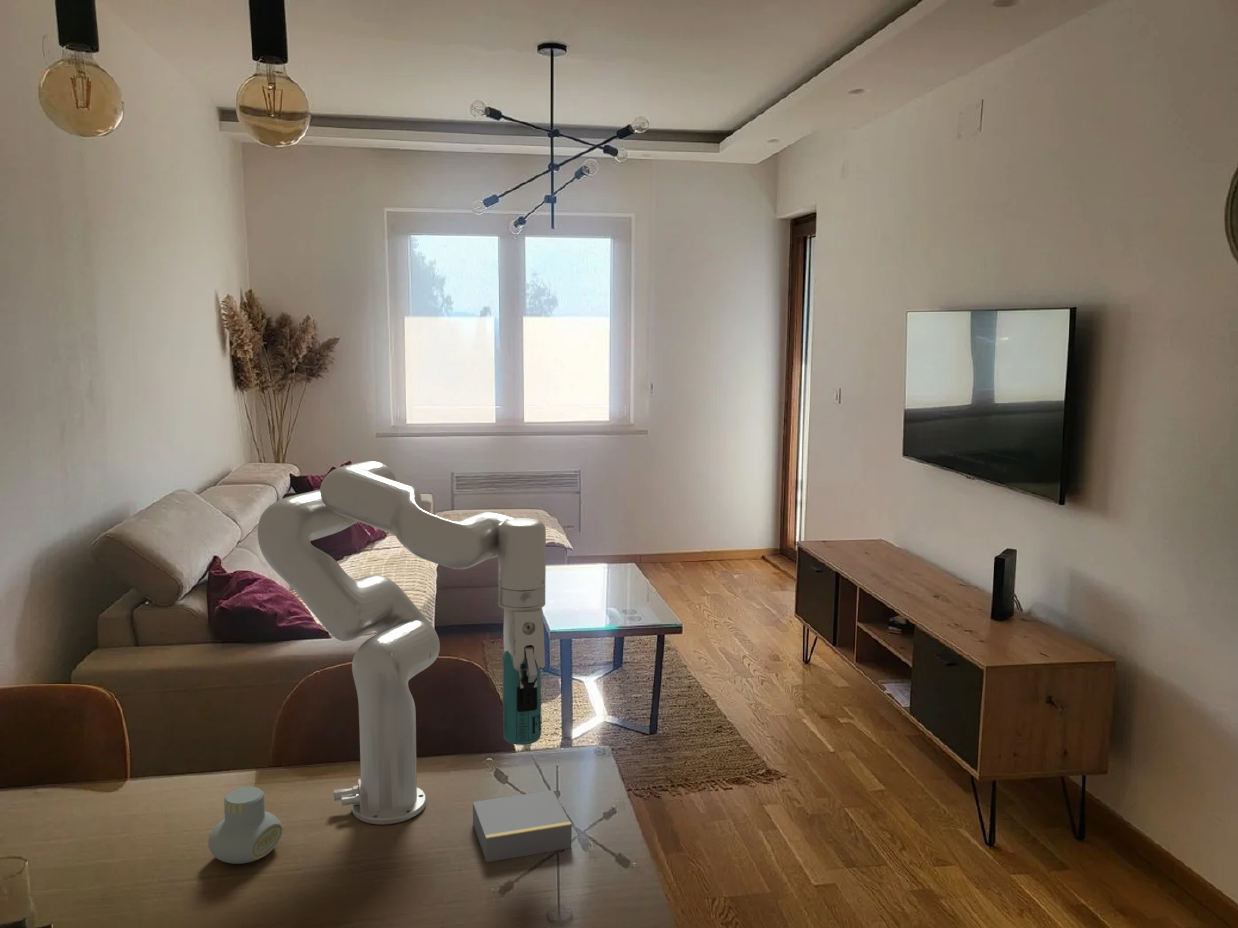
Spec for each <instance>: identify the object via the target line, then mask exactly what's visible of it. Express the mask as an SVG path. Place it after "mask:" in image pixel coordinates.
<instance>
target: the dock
mask: <svg viewBox="0 0 1238 928" xmlns="http://www.w3.org/2000/svg"><path fill="white" fill-rule="evenodd" d="M569 819H570V818H569V817H568V816H567V814H566V812H565V810H564V808H563V806H562V805H561V803H560V801H559V799H558V797H557V796H556V793H555V792H554V790H553V789H551V790H545V791H539V792H531V793H525V794H517V795H512V796H504V797H499V798H498V797H497V798H490V799H484V800H478V801H473V802H472V825H473V828H474V831H475V834H476V836H477V840H478V843H479V844H480V849H481V851H482V854H483V857H484V860H485V862H486V863H492V862H497V861H503V860H509V859H513V858H514V859H515V858H519V857H520V858H521V857H526V856H531V855H537V854H538V855H539V854H543V853H549V852H555V851H561V850H567V849H572V834H573V833H572V829H573V828H572V827H573V826H572V822H571V821H570V820H569Z"/></svg>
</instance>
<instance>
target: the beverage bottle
mask: <svg viewBox="0 0 1238 928" xmlns="http://www.w3.org/2000/svg"><path fill="white" fill-rule="evenodd" d="M527 628H529V627H527ZM535 662H536V660H535ZM535 664H536V663H535ZM521 668H527V666H526V663H524V664H521ZM536 669H537V709H536V710H533V711H525V712H518V711H517V687H519V683H518V671H517V670H515V669H514V668H513V665H512V660H511V657H510V655H509V652H508V651H506V652H504V653H503V654H502V691H501V692H502V704H501V706H502V708H501V709H502V710H501V713H502V720H501V721H502V722H501V723H502V724H501V725H502V727H501V728H502V729H501V730H502V735H503V739H504V740H505V741H506V742H507V743H509V744H512V745H517V746H523V745H525V746H527V745H531V744H534V743H536V742H538V741H539V740H540V739H541V736H542V729H543V726H542V725H543V724H542V723H543V715H542V701H543V699H542V673H541V671H542V669H540V668H538V666H537V665H536ZM522 674H523V679H524V676H525V675H527V672H522Z"/></svg>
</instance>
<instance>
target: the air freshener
mask: <svg viewBox="0 0 1238 928" xmlns="http://www.w3.org/2000/svg"><path fill="white" fill-rule="evenodd" d="M223 801H224V802H223V804H224V805H223V806H224V807H223V808H224V809H223V811H224V818H222V820H220V821H219V822H218V823H217V824H216V825H215V826H214V828H213V829H212V831H211V833H210V834H209V837H208V840H207V841H208V848H209V851H210V853H211V854H212V855H213V856H214V858H216V859H218V860H219V861H221V862H224V863H227V864H232V865H234V864H237V865H241V864H248V863H252V862H255V861H258V860H260V859H262V858H263V857H265V856H267V855H268V854H269V853H271V852H272V851H273V850H274V849H275V847H276V846H277V844H278V843H279V841H280V839H281V837H282V835H283V827H282V823H281V821H280V819H278V817H277V816H275V814H273V813H272V812H269V811H266V810H265V809H266V808H265V807H266V806H265V793H264V791H263V790H262V789H261V788H259V787H255V786H243V787H239V788H237V789H236V788H235V789H234V790H231V791H230V792H229V793H227V794H226V796H224V798H223Z"/></svg>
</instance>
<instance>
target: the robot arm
mask: <svg viewBox="0 0 1238 928" xmlns="http://www.w3.org/2000/svg"><path fill="white" fill-rule="evenodd" d="M356 523H362V524H364V525H367V526H370V527H372V528H375V529H378V530H380V531H383V532H385V533H389V534H392V535H394V536H395V537H396V539H397V540H398V542H399V543H400V544H401V545H403V547H404V548H405V549H406V550H408V552H410V553H412V554H413V555H415V556H416V557H418V558H421V559H423V560H426V561H429V562H431V563H434V564H437V565H439V566H442V567H446V568H448V569H449V568H450V569H453V570H466V569H470V568H473V567H474V566H477V565H479V564H481V563H482V562H485V561H488V560H491V559H494V558H498V559H497V561H498V563H497V564H498V565H497V566H498V567H497V569H498V572H497V574H498V579H497V580H498V585H497V586H498V607H499V608H501V609H503V630H502V631H503V635H502V636H503V650H504V653H505V652H506V651H508V652H509V655H510V657H511V660H512V665H513V668H514V669H515V670H517V671H518V683H519V687H517V711H518V712H525V711H533V710H536V709H537V669H536V665H537V666H538V668H540V669H541V670H543V669H544V668H545V666H546V661H545V660H546V658H545V657H546V655H545V652H546V651H545V636H544V635H545V633H544V629H545V628H544V619H543V612H542V608H544V607H545V606H546V577H547V576H546V571H547V570H546V567H547V566H546V563H547V562H546V557H547V556H546V555H547V553H546V552H547V551H546V549H547V545H546V544H547V541H546V540H547V536H546V535H547V534H546V533H547V532H546V531H547V530H546V526H545V524H544V522H542V521H541V520H539V519H536V518H531V517H530V518H529V517H512V516H507V515H504V514H501V513H496V512H492V511H483V512H480V513H479V512H478V513H476V514H474V515H471V516H468V517H465V518H462V519H459V520H457V521H455V520H454V521H453V520H450V519H447V518H444V517H441V516H438V515H435V514H433V513H430V512H428V511H426V510H424V509H422V496H421V493H420V492H419V490H418V489H417V488H416V487H415V486H412V485H408V484H405V483H402V482H399V481H398V480H397V477H396V475H395V473H394V472H393V471H392V469H391V468H390V467H388V466H387V465H386V464H384V463H382V462H380V461H375V460H368V461H360V462H356V463H352V464H348V465H347V464H346V465H343V466H340V467H337V468H335V469H333V470H331V471H330V472H329V473H327V474H326V476H324V478H323V480H322V482H321V483H320V488H319V489H316V490H312V491H308V492H303V493H300V494H299V493H298V494H294V495H291V496H287V497H284V498H281V499H279V500H277V501H275V502H273V503H272V504H270V505H269V506H268V507H267V508H266V509H264V511H263V512H262V514H261V515H260V518H259V520H258V524H257V541H258V545H259V548H260V551H261V553H262V554H261V555H262V556H263V557H264V559H265V561H266V562H267V563H268V565H269V566H270V568H272V570H273V571H274V572H276V574H278V576H280V578H282V579H283V580H284V581H285V582H286V583H287V584H288V585H289V587H291V589H293V591H294V592H295V593H296V594H297V596H298V597H299V598H300V599H301V601H302V602H303V603H304V604H305V605H306V607H307V608H308V610H309V611H311V613H312V614H313V615H314V617H315V618H316V619H317V620H318V621H319V622H320V623H321V624H322V626H323V627H324V628H325V630H327V632H328V633H329V634H330V635H331V636H332V637H333V638H335V639H336V640H339V641H342V642H349V641H353V640H357V639H358V638H360V637H363V636H365V635H367V634H369V633H371V632H372V631H376V633H377V634H375V635H372V636H371V637H369V638H368V639H366V640H365V641H364V642H362V644H360V646H359V647H358V648H357V650H356V651H355V653H354V655H353V658H352V664H351V670H352V676H353V680H354V685H355V689H356V694H357V701H358V702H357V703H358V704H357V705H358V718H359V719H358V721H359V722H358V723H359V724H358V725H359V759H360V764H359V765H360V778H358V780H357V784H355V785H352V787H349V788H338V789H334V790H333V802H340V801H341V806H342V807H344V806H350V805H351V808H352V809H351V810H352V814H353V815H354V817H355V818H357V820H360V821H362V822H364V823H366V824H372V825H391V824H393V825H394V824H398V823H401V822H405V821H408V820H410V819H413V818H414V817H416V816H417V815H419V814H420V813H421V812H422V811H423V810H424V808H425V807H426V806H427V805H426V804H427V796H426V794H425V792H424V791H423V790H422V789H421V788H419V787H418V786H417V784H418V783H417V723H416V722H417V719H416V717H417V715H416V705H415V701H414V700H415V699H414V698H413V695H412V693H411V691H410V688H409V681H410V680H411V679H412V678H414V677H415V676H416V675H418V674H419V673H421V672H423V671H425V670H426V669H427V668H429V667H430V666H431V665H433V664H434V662H435V661H436V660H437V658H438V656H439V653H440V650H441V649H440V648H441V643H440V639H439V636H438V634H437V631H436V630H435V627H433V625H432V624H431V622H430V621H429V620H428V618H427V617H426V616H425V615H424V614H423V613H422V612H421V610H420V609H419V607H417V606H416V605H415V603H414V602H413V601H412V599H411V598H410V597H409V596H408V595H407V594H406V593H405V592H404V590H403V589H402V588H401V587H400V585H398V584H397V583H396V582H395V581H393V580H392V579H390V578H388V577H386V576H383V575H379V574H371V575H365V576H363V577H361V578H357V579H353V578H352V577H351V576H350V575H349V574H348V573H347V572H346V571H345V570H344V568H342V566H341V565H340V564H339V562H338V561H337V560H335V559H334V557H332V556H331V555H330V554H328V553H326V552H324V551H323V550H321V549H319V548H317V547H315V546H314V545H313V544H312V543H311V541H314V540H317V539H318V540H319V539H322V538H324V537H325V538H326V537H328V536H332V535H334V534H337V533H339V532H342V531H343V530H345V529H348V528H349V527H351V526H353V525H354V524H356ZM527 627H529V628H527ZM535 660H536V662H535ZM524 663H526V666H527V668H521V664H524ZM535 663H536V664H535ZM522 672H527V675H525V676H524V679H523V674H522Z"/></svg>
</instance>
